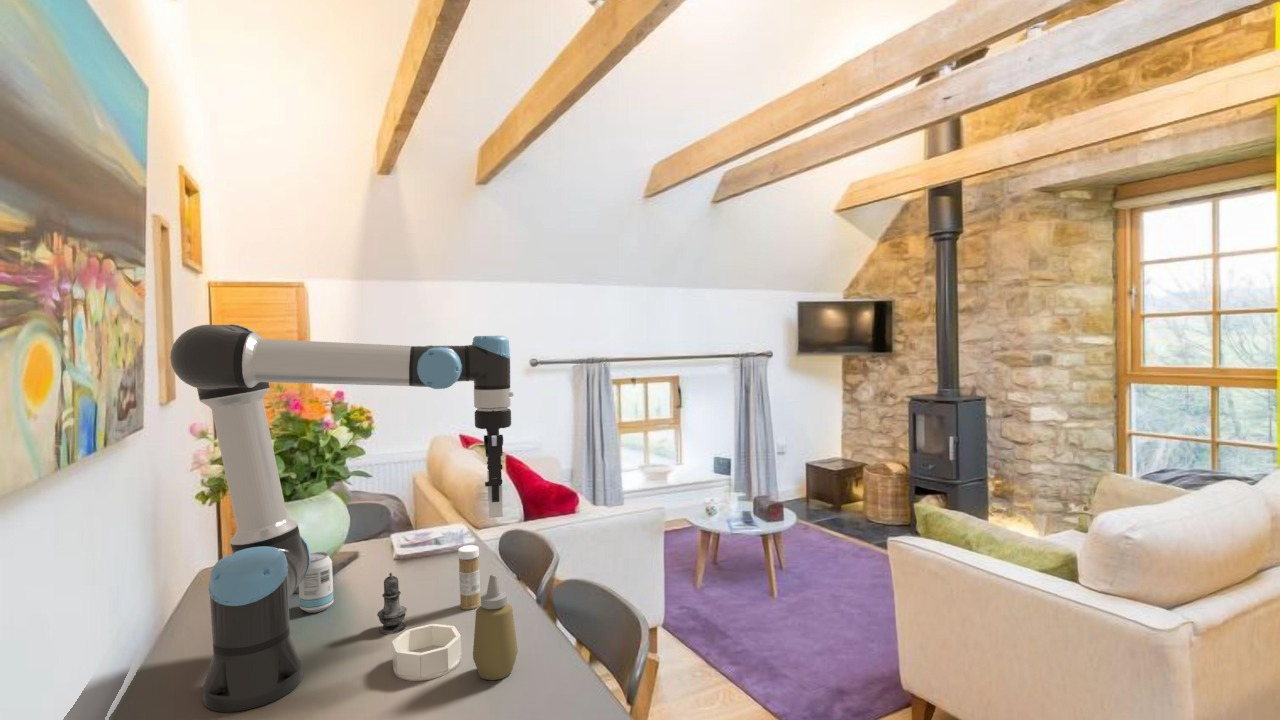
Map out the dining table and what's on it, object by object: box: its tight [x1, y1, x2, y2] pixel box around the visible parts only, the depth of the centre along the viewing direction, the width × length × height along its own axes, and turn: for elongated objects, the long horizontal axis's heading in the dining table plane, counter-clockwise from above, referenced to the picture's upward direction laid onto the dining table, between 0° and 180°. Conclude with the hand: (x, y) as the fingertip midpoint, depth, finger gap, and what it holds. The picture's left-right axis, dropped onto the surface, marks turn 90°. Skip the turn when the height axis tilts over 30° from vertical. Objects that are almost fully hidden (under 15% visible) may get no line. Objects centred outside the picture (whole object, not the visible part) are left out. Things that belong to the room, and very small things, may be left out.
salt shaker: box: [376, 572, 408, 635], centre depth 136 cm, size 6×6×12 cm
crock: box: [391, 623, 463, 682], centre depth 122 cm, size 12×12×5 cm
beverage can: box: [298, 551, 334, 614], centre depth 147 cm, size 7×7×12 cm
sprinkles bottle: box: [457, 544, 481, 610], centre depth 147 cm, size 5×5×13 cm
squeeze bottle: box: [472, 574, 519, 681], centre depth 118 cm, size 8×8×18 cm
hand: (494, 508), depth 138 cm, fingers open, 13 cm apart
